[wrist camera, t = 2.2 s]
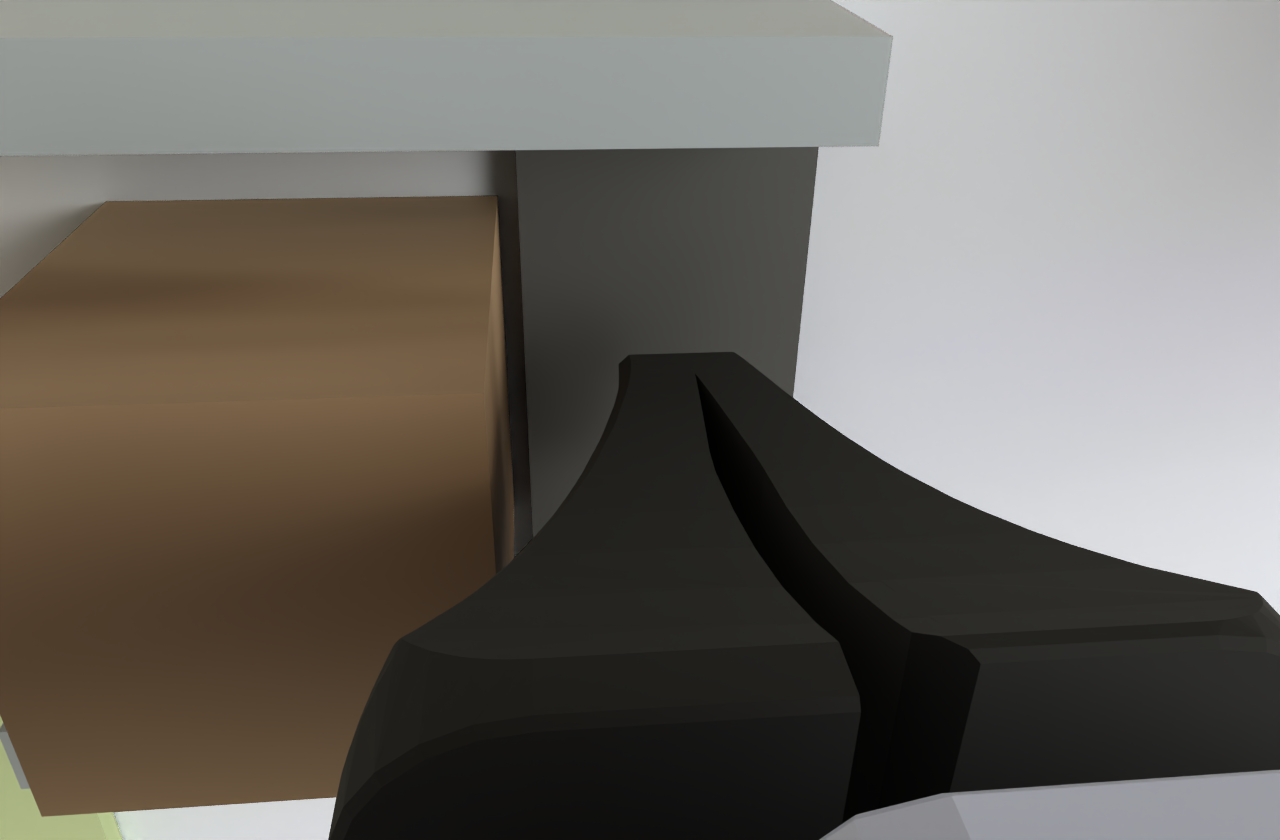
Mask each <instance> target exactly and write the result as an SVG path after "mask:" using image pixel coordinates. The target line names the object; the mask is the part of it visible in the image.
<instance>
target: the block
mask: <svg viewBox="0 0 1280 840" xmlns="http://www.w3.org/2000/svg"><path fill="white" fill-rule="evenodd" d="M513 559H514V491H513V473H512V454H511V436H510V418H509V399H508V381H507V363H506V344H505V326H504V308H503V289H502V271H501V253H500V234H499V216H498V198H497V196H441V197H374V198H307V199H240V200H173V201H106V202H105V203H104V204H103V205H102V206H101V207H100V208H98V209H97V210H96V211H95V212H94V213H93V214H92V215H91V216H90V217H89V218H88V219H86V220H85V221H84V222H83V223H82V224H81V225H80V226H79V227H78V228H77V229H76V230H75V231H73V232H72V233H71V234H70V235H69V236H68V237H67V238H66V239H65V240H64V241H63V242H62V243H60V244H59V245H58V246H57V247H56V248H55V249H54V250H53V251H52V252H51V253H50V254H48V255H47V256H46V257H45V258H44V259H43V260H42V261H41V262H40V263H39V264H38V265H37V266H35V267H34V268H33V269H32V270H31V271H30V272H29V273H28V274H27V275H26V276H25V277H24V278H22V279H21V280H20V281H19V282H18V283H17V284H16V285H15V286H14V287H13V288H12V289H10V290H9V291H8V292H7V293H6V294H5V295H4V296H3V297H2V298H1V299H0V716H1V718H2V721H3V723H4V726H5V728H6V730H7V733H8V735H9V738H10V740H11V743H12V745H13V748H14V750H15V753H16V755H17V757H18V760H19V762H20V765H21V767H22V770H23V772H24V775H25V777H26V779H27V782H28V784H29V787H30V789H31V792H32V794H33V797H34V799H35V802H36V804H37V806H38V809H39V811H40V814H41V816H42V817H47V816H62V815H77V814H92V813H107V812H122V811H137V810H152V809H167V808H182V807H197V806H212V805H227V804H242V803H257V802H272V801H287V800H302V799H317V798H332V797H337V792H338V788H339V783H340V778H341V774H342V770H343V767H344V764H345V761H346V757H347V754H348V751H349V748H350V746H351V743H352V740H353V737H354V734H355V731H356V728H357V725H358V723H359V720H360V717H361V715H362V713H363V710H364V708H365V705H366V703H367V701H368V698H369V696H370V693H371V691H372V689H373V687H374V685H375V682H376V680H377V678H378V676H379V674H380V672H381V670H382V668H383V666H384V663H385V661H386V659H387V657H388V655H389V653H390V651H391V649H392V647H393V646H394V644H395V643H396V642H397V641H398V640H399V639H400V638H401V637H403V636H405V635H407V634H409V633H411V632H412V631H414V630H416V629H418V628H419V627H421V626H422V625H424V624H426V623H427V622H429V621H431V620H432V619H434V618H435V617H437V616H439V615H440V614H442V613H443V612H445V611H447V610H448V609H450V608H452V607H453V606H455V605H456V604H458V603H460V602H461V601H463V600H464V599H466V598H467V597H468V596H470V595H471V594H473V593H474V592H475V591H477V590H478V589H479V588H480V587H482V586H483V585H484V584H485V583H486V582H488V581H489V580H490V579H491V578H492V577H493V576H495V575H496V574H497V573H498V572H499V571H500V570H502V569H503V568H504V567H505V566H506V565H507V564H509V563H510V562H511V561H512V560H513Z"/></svg>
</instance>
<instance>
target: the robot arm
mask: <svg viewBox="0 0 1280 840" xmlns="http://www.w3.org/2000/svg"><path fill="white" fill-rule="evenodd" d="M329 840H1280V615H1279V614H1278V613H1277V612H1276V611H1275V610H1274V609H1273V608H1272V607H1271V606H1270V605H1269V603H1268V602H1267V601H1266V600H1265V599H1264V598H1263V597H1262V596H1261V595H1260V594H1259V593H1257V592H1255V591H1250V590H1246V589H1242V588H1237V587H1233V586H1228V585H1224V584H1220V583H1215V582H1211V581H1206V580H1202V579H1198V578H1193V577H1189V576H1184V575H1180V574H1176V573H1171V572H1167V571H1162V570H1158V569H1154V568H1149V567H1145V566H1141V565H1138V564H1134V563H1130V562H1127V561H1124V560H1120V559H1117V558H1114V557H1110V556H1107V555H1104V554H1101V553H1097V552H1094V551H1091V550H1087V549H1084V548H1081V547H1077V546H1074V545H1071V544H1068V543H1065V542H1062V541H1059V540H1057V539H1054V538H1051V537H1048V536H1045V535H1042V534H1039V533H1036V532H1034V531H1031V530H1028V529H1026V528H1023V527H1021V526H1018V525H1016V524H1013V523H1011V522H1009V521H1006V520H1004V519H1001V518H999V517H996V516H994V515H991V514H989V513H986V512H984V511H981V510H979V509H977V508H974V507H972V506H970V505H968V504H966V503H963V502H961V501H959V500H957V499H955V498H952V497H950V496H948V495H946V494H944V493H943V492H941V491H939V490H937V489H935V488H933V487H931V486H929V485H927V484H925V483H923V482H921V481H919V480H917V479H915V478H913V477H912V476H910V475H908V474H906V473H904V472H902V471H900V470H899V469H897V468H895V467H894V466H892V465H890V464H888V463H887V462H885V461H883V460H882V459H880V458H878V457H877V456H875V455H874V454H872V453H871V452H869V451H868V450H866V449H864V448H863V447H861V446H860V445H858V444H857V443H855V442H854V441H852V440H850V439H849V438H847V437H846V436H844V435H843V434H842V433H840V432H839V431H837V430H836V429H834V428H833V427H831V426H830V425H829V424H827V423H826V422H824V421H823V420H822V419H820V418H819V417H818V416H816V415H815V414H814V413H812V412H811V411H810V410H808V409H807V408H806V407H804V406H803V405H802V404H800V403H799V402H798V401H796V400H795V399H794V398H793V397H791V396H790V395H789V394H787V393H786V392H785V391H784V390H782V389H781V388H780V387H779V386H777V385H776V384H775V383H774V382H772V381H771V380H770V379H769V378H767V377H766V376H765V375H764V374H762V373H761V372H760V371H759V370H757V369H756V368H755V367H754V366H752V365H751V364H750V363H749V362H747V361H746V360H745V359H743V358H742V357H741V356H739V355H738V354H736V353H735V352H704V353H669V354H634V355H628V356H627V357H626V358H625V359H624V360H622V361H621V362H620V363H619V389H618V393H617V396H616V400H615V404H614V407H613V409H612V412H611V414H610V417H609V419H608V422H607V424H606V427H605V429H604V432H603V434H602V436H601V439H600V441H599V443H598V444H597V446H596V448H595V450H594V452H593V454H592V456H591V457H590V459H589V461H588V463H587V465H586V467H585V469H584V471H583V472H582V474H581V476H580V477H579V479H578V480H577V482H576V484H575V485H574V487H573V488H572V490H571V491H570V493H569V494H568V496H567V497H566V498H565V500H564V501H563V502H562V504H561V505H560V506H559V508H558V509H557V511H556V512H555V513H554V515H553V516H552V517H551V518H550V519H549V521H548V522H547V523H546V524H545V525H544V526H543V528H542V529H541V530H540V531H539V532H538V533H537V534H536V536H535V537H534V538H533V539H532V540H531V541H530V542H529V544H528V545H527V546H526V547H525V548H524V549H523V550H522V551H521V552H520V553H519V554H518V555H517V556H516V557H515V558H514V559H513V560H512V561H511V562H510V563H509V564H507V565H506V566H505V567H504V568H503V569H502V570H500V571H499V572H498V573H497V574H496V575H495V576H493V577H492V578H491V579H490V580H489V581H488V582H486V583H485V584H484V585H483V586H482V587H480V588H479V589H478V590H477V591H475V592H474V593H473V594H471V595H470V596H468V597H467V598H466V599H464V600H463V601H461V602H460V603H458V604H456V605H455V606H453V607H452V608H450V609H448V610H447V611H445V612H443V613H442V614H440V615H439V616H437V617H435V618H434V619H432V620H431V621H429V622H427V623H426V624H424V625H422V626H421V627H419V628H418V629H416V630H414V631H412V632H411V633H409V634H407V635H405V636H403V637H401V638H400V639H399V640H398V641H397V642H396V643H395V644H394V646H393V647H392V649H391V651H390V653H389V655H388V657H387V659H386V661H385V663H384V666H383V668H382V670H381V672H380V674H379V676H378V678H377V680H376V682H375V685H374V687H373V689H372V691H371V693H370V696H369V698H368V701H367V703H366V705H365V708H364V710H363V713H362V715H361V717H360V720H359V723H358V725H357V728H356V731H355V734H354V737H353V740H352V743H351V746H350V748H349V751H348V754H347V757H346V761H345V764H344V767H343V770H342V774H341V778H340V783H339V788H338V792H337V798H336V803H335V808H334V813H333V819H332V824H331V829H330V834H329Z"/></svg>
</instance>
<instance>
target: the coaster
mask: <svg viewBox="0 0 1280 840" xmlns="http://www.w3.org/2000/svg"><path fill="white" fill-rule="evenodd" d="M2 724H3V721H2V718H1V716H0V728H1V726H2ZM0 840H123V839H122V836H121V833H120V831H119V828H118V825H117V822H116V819H115V817H114V814H113V812H107V813H92V814H77V815H62V816H47V817H42V816H41V814H40V811H39V809H38V806H37V804H36V802H35V799H34V797H33V794H32V792H31V789H21V788H20V785H19V783H18V780H17V778H16V776H15V773H14V771H13V768H12V766H11V764H10V761H9V759H8V756H7V754H6V751H5V749H4V747H3V744H2V742H1V739H0Z"/></svg>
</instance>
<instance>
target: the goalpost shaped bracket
mask: <svg viewBox="0 0 1280 840" xmlns="http://www.w3.org/2000/svg"><path fill="white" fill-rule="evenodd" d="M892 40H893V36H891V35H889V34H888V33H886V32H884V31H883V30H881V29H879V28H878V27H876V26H874V25H872V24H871V23H869V22H867V21H866V20H864V19H862V18H861V17H859V16H857V15H856V14H854V13H852V12H850V11H849V10H847V9H845V8H844V7H842V6H840V5H839V4H837V3H835V2H833V1H832V0H0V156H45V155H133V154H221V153H310V152H398V151H487V150H516V171H517V193H518V215H519V238H520V260H521V282H522V304H523V327H524V349H525V371H526V393H527V416H528V438H529V460H530V483H531V505H532V527H533V538H534V537H535V536H536V534H537V533H538V532H539V531H540V530H541V529H542V528H543V526H544V525H545V524H546V523H547V522H548V521H549V519H550V518H551V517H552V516H553V515H554V513H555V512H556V511H557V509H558V508H559V506H560V505H561V504H562V502H563V501H564V500H565V498H566V497H567V496H568V494H569V493H570V491H571V490H572V488H573V487H574V485H575V484H576V482H577V480H578V479H579V477H580V476H581V474H582V472H583V471H584V469H585V467H586V465H587V463H588V461H589V459H590V457H591V456H592V454H593V452H594V450H595V448H596V446H597V444H598V443H599V441H600V439H601V436H602V434H603V432H604V429H605V427H606V424H607V422H608V419H609V417H610V414H611V412H612V409H613V407H614V404H615V400H616V396H617V393H618V389H619V363H620V362H621V361H622V360H624V359H625V358H626V357H627V356H628V355H634V354H669V353H704V352H735V353H736V354H738V355H739V356H741V357H742V358H743V359H745V360H746V361H747V362H749V363H750V364H751V365H752V366H754V367H755V368H756V369H757V370H759V371H760V372H761V373H762V374H764V375H765V376H766V377H767V378H769V379H770V380H771V381H772V382H774V383H775V384H776V385H777V386H779V387H780V388H781V389H782V390H784V391H785V392H786V393H787V394H789V395H790V396H791V397H793V391H794V382H795V372H796V362H797V352H798V343H799V333H800V323H801V313H802V303H803V294H804V284H805V274H806V264H807V255H808V245H809V235H810V225H811V216H812V206H813V196H814V186H815V176H816V167H817V157H818V147H840V146H879V139H880V131H881V123H882V116H883V108H884V101H885V93H886V85H887V78H888V70H889V63H890V55H891V47H892ZM0 739H1V742H2V744H3V747H4V749H5V751H6V754H7V756H8V759H9V761H10V764H11V766H12V768H13V771H14V773H15V776H16V778H17V780H18V783H19V785H20V788H21V789H30V787H29V784H28V782H27V779H26V777H25V775H24V772H23V770H22V767H21V765H20V762H19V760H18V757H17V755H16V753H15V750H14V748H13V745H12V743H11V740H10V738H9V735H8V733H7V730H6V728H5V726H4V723H3V724H2V726H1V728H0Z"/></svg>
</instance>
